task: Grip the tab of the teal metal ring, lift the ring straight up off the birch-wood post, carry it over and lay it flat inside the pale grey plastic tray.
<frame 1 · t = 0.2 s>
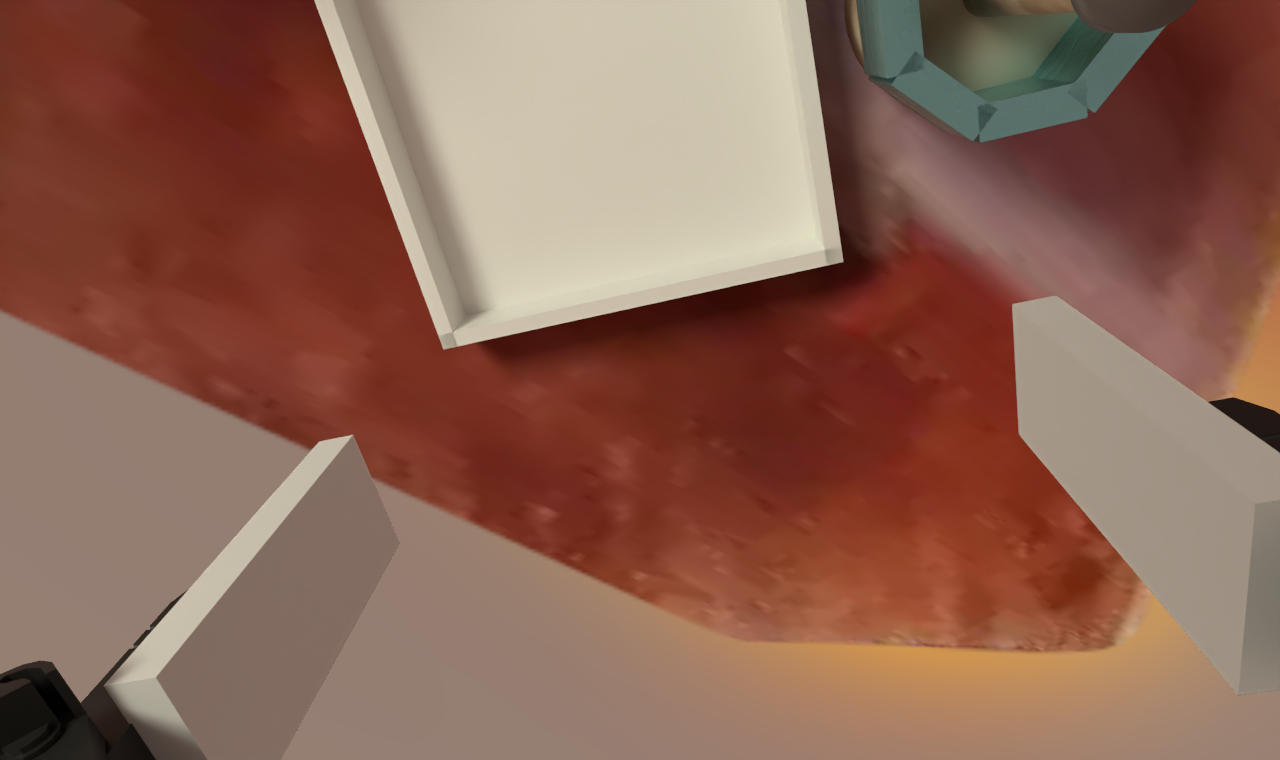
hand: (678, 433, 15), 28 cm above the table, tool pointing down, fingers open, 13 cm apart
tray: (583, 68, 39), on the table
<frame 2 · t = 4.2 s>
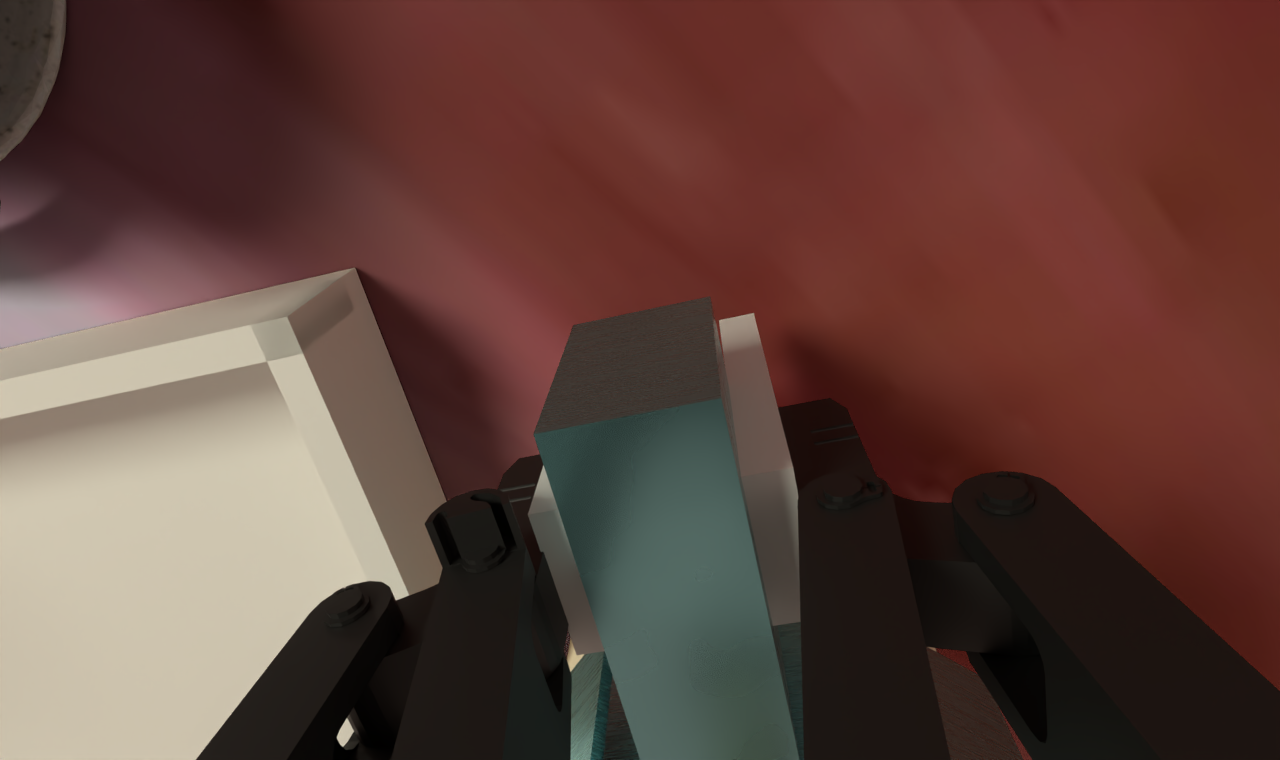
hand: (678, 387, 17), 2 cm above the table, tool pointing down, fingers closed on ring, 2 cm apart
tray: (182, 688, 24), on the table
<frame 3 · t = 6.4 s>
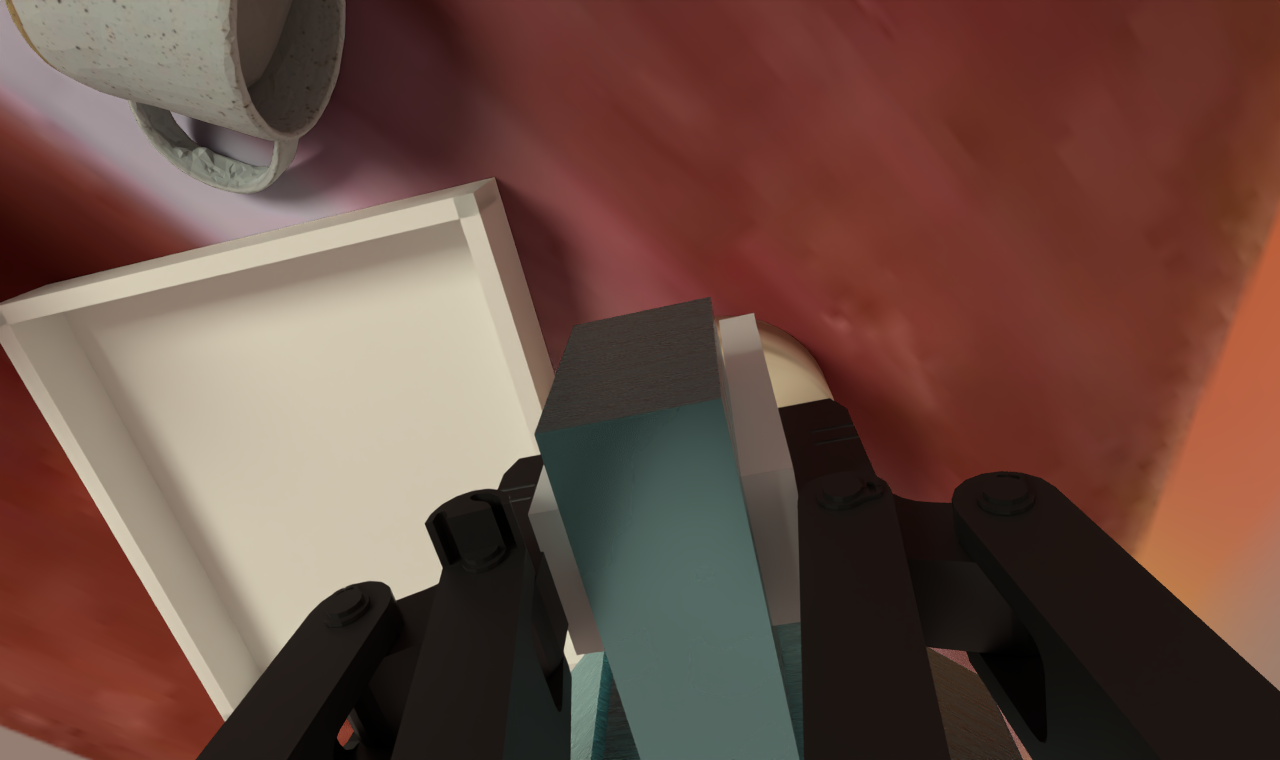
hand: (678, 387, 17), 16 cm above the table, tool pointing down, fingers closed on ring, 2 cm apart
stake: (723, 416, 35), on the table
tray: (359, 465, 37), on the table
ceramic mug: (253, 44, 30), on the table
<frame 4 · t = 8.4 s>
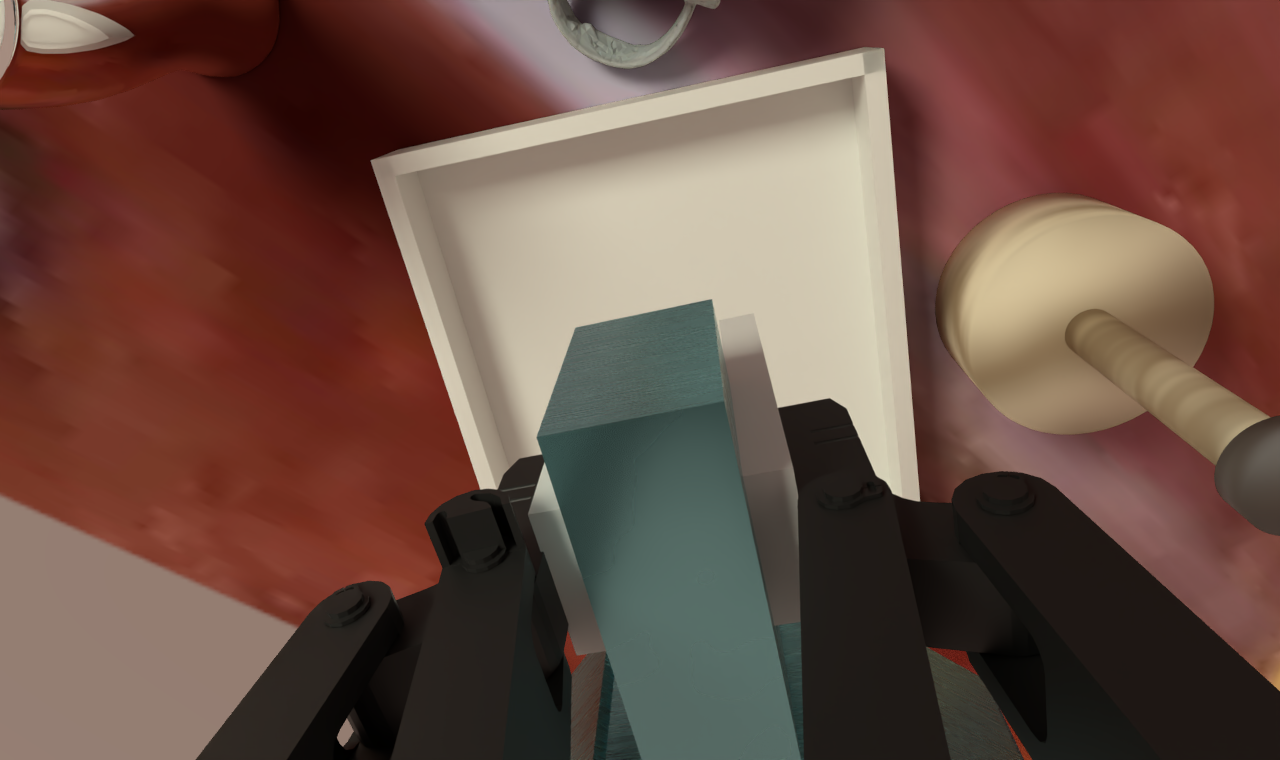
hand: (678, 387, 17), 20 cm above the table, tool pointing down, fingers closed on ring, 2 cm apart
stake: (1039, 295, 37), on the table
tray: (671, 340, 39), on the table
beer glass: (213, 1, 34), on the table
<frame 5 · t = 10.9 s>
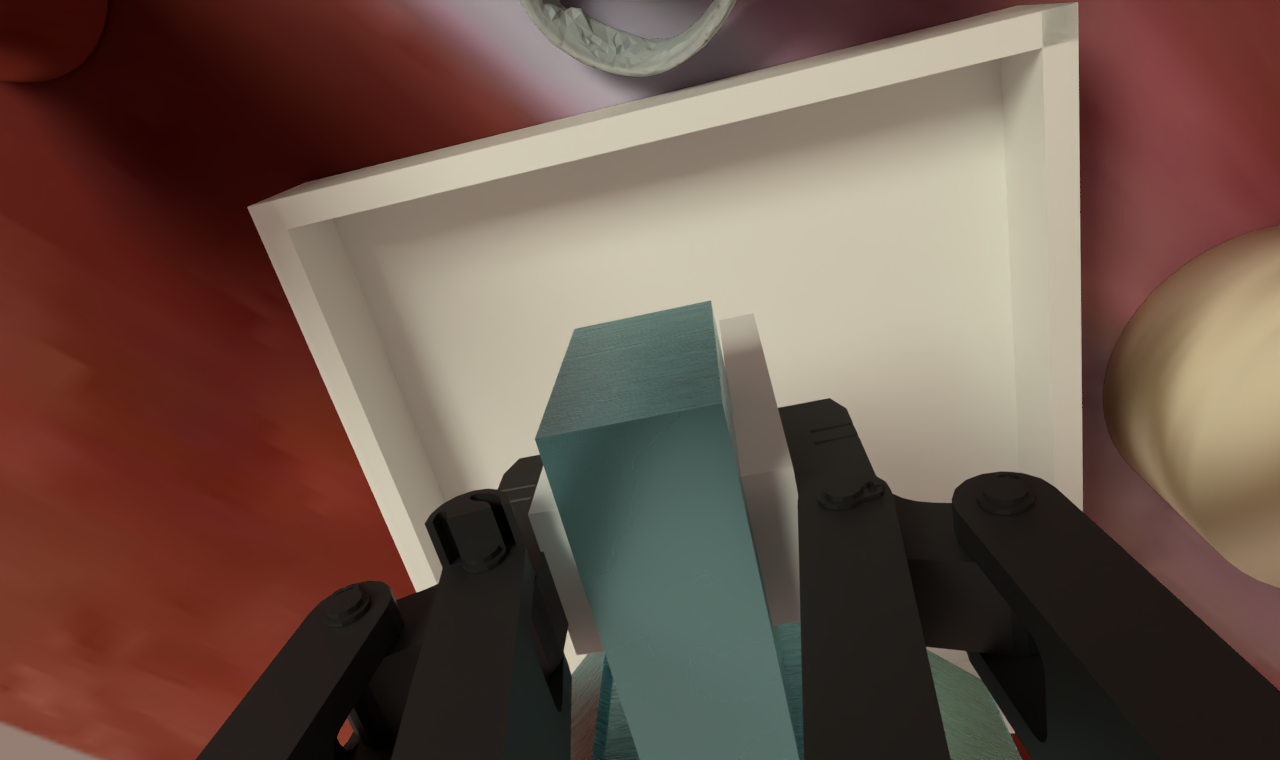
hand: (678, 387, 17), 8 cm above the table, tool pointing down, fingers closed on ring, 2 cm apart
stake: (1261, 370, 25), on the table
tray: (715, 443, 27), on the table
when the fingers open (2 cm above the table, at t = 12.7 s): ring drops 4 cm, resting on tray.
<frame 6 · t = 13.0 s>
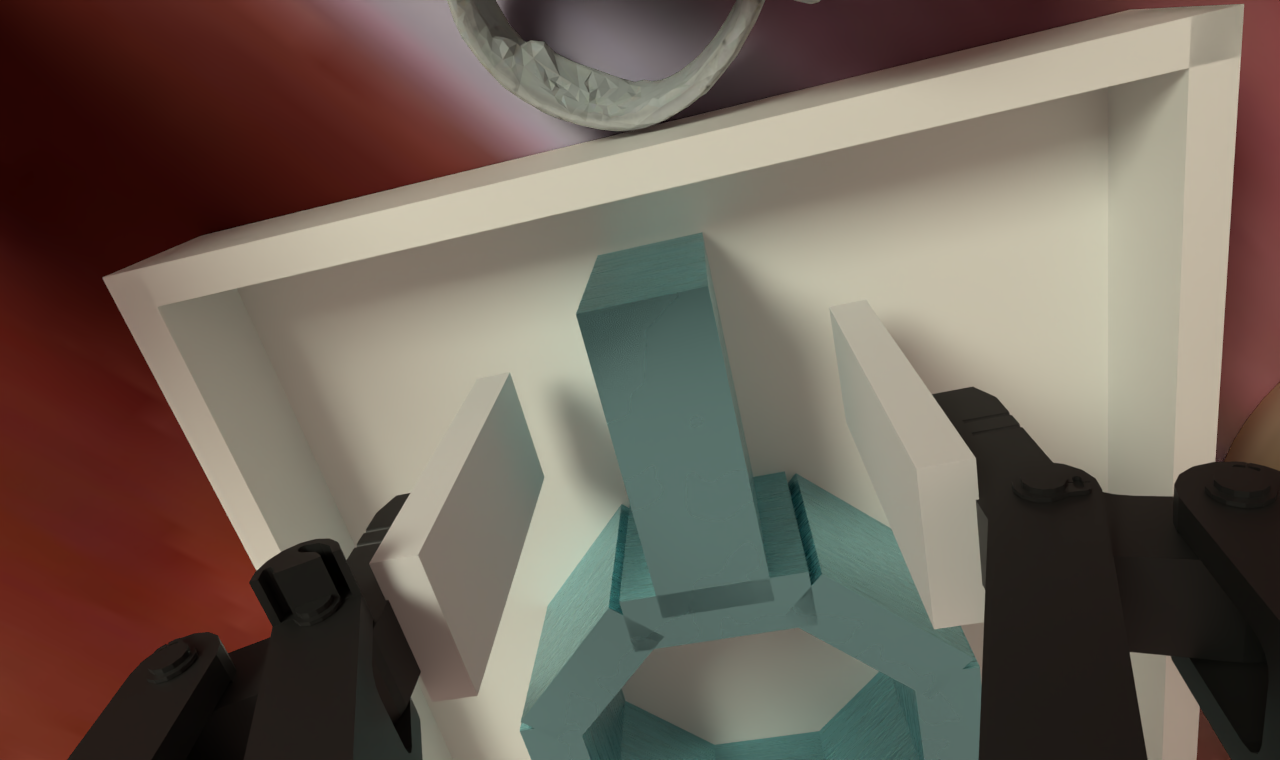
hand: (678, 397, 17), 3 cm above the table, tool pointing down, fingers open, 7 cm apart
ring: (743, 641, 22), point 1 cm above the table, touching tray
tray: (725, 552, 22), on the table
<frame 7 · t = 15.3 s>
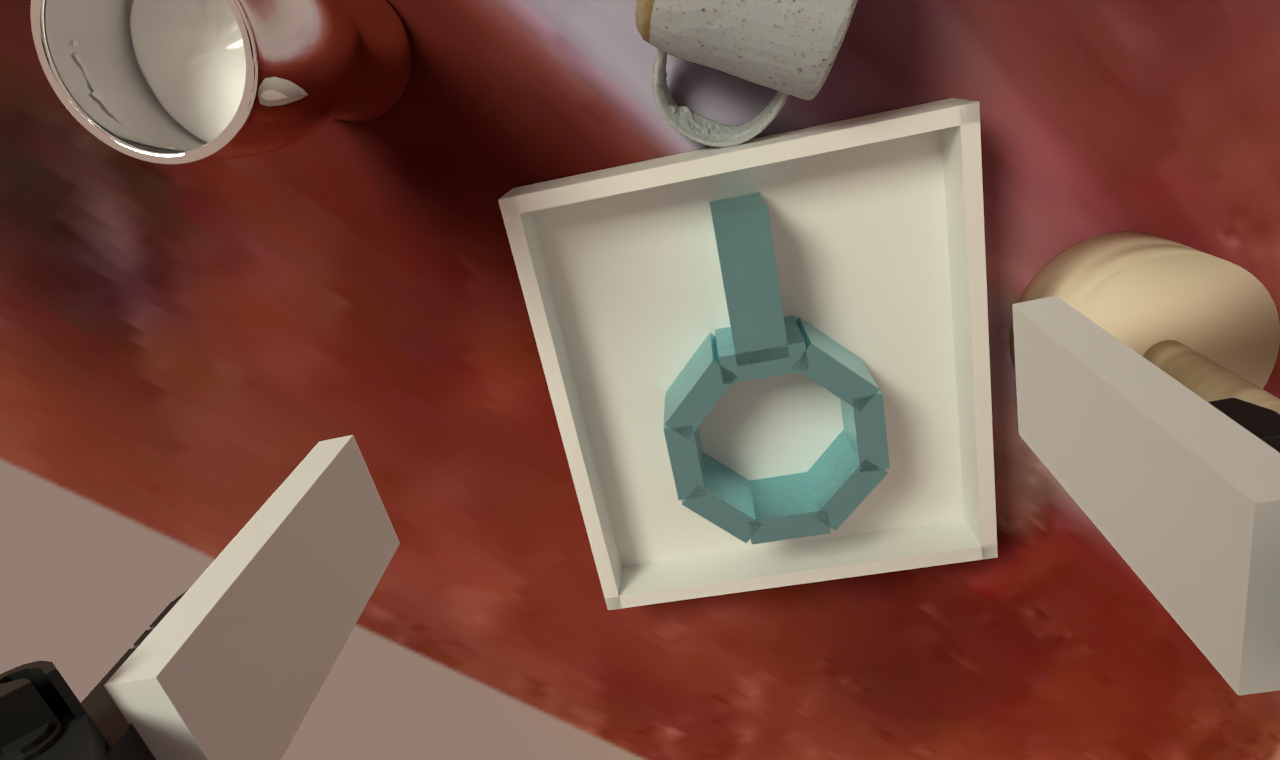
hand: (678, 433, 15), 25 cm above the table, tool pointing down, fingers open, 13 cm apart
ring: (768, 414, 41), point 1 cm above the table, touching tray
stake: (1107, 325, 39), on the table
tray: (760, 366, 41), on the table
ceramic mug: (741, 19, 35), on the table
beer glass: (349, 52, 37), on the table
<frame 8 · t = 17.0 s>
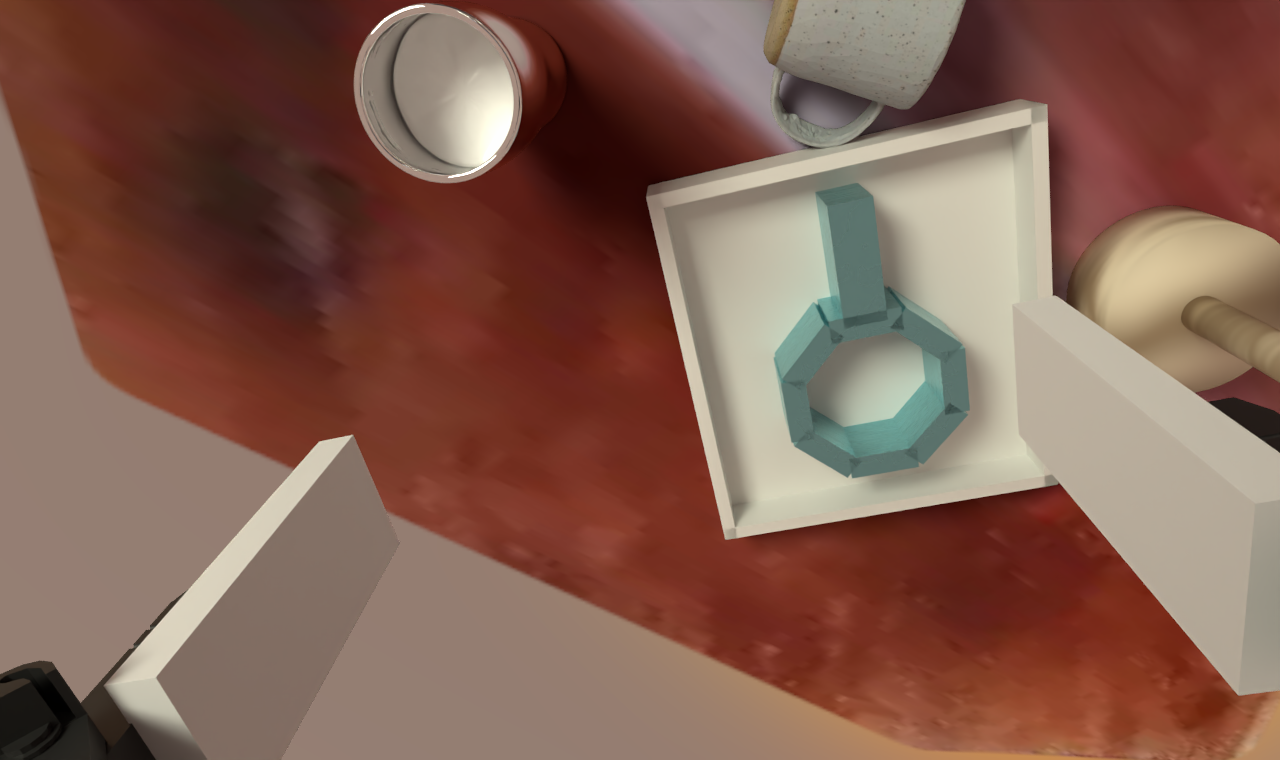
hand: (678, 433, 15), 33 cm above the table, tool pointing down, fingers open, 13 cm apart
ring: (861, 369, 49), point 1 cm above the table, touching tray
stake: (1150, 285, 47), on the table
tray: (853, 329, 49), on the table
ceramic mug: (841, 40, 42), on the table
beer glass: (514, 77, 44), on the table
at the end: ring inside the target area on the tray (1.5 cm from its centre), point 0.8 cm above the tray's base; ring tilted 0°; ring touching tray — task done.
